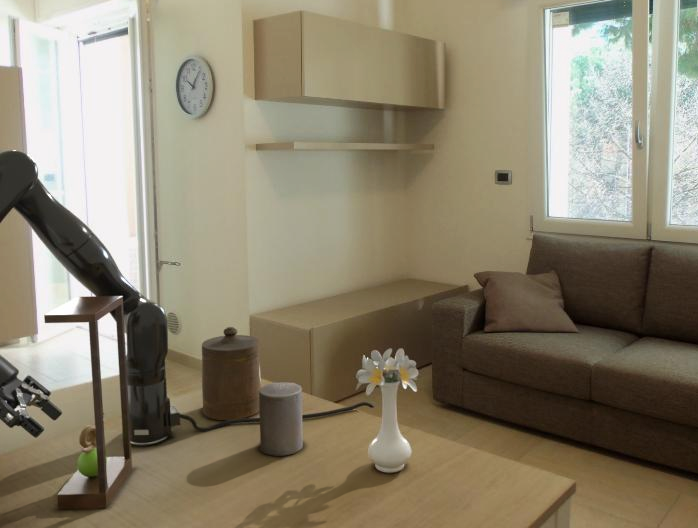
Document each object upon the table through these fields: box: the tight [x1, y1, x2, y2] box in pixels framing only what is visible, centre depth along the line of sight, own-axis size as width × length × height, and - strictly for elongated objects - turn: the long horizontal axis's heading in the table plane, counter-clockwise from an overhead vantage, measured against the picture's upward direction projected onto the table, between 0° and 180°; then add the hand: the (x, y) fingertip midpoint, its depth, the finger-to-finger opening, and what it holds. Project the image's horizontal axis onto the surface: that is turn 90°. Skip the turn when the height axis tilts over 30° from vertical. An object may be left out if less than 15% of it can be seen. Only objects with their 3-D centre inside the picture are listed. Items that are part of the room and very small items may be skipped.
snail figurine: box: [76, 411, 107, 477], centre depth 136 cm, size 5×6×12 cm
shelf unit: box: [43, 295, 133, 511], centre depth 135 cm, size 9×16×38 cm, turn 3°
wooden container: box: [201, 326, 262, 421], centre depth 177 cm, size 15×15×22 cm
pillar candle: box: [258, 381, 304, 457], centre depth 155 cm, size 10×10×15 cm
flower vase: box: [355, 348, 420, 474], centre depth 145 cm, size 13×18×25 cm
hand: (50, 425), depth 135 cm, fingers open, 8 cm apart
